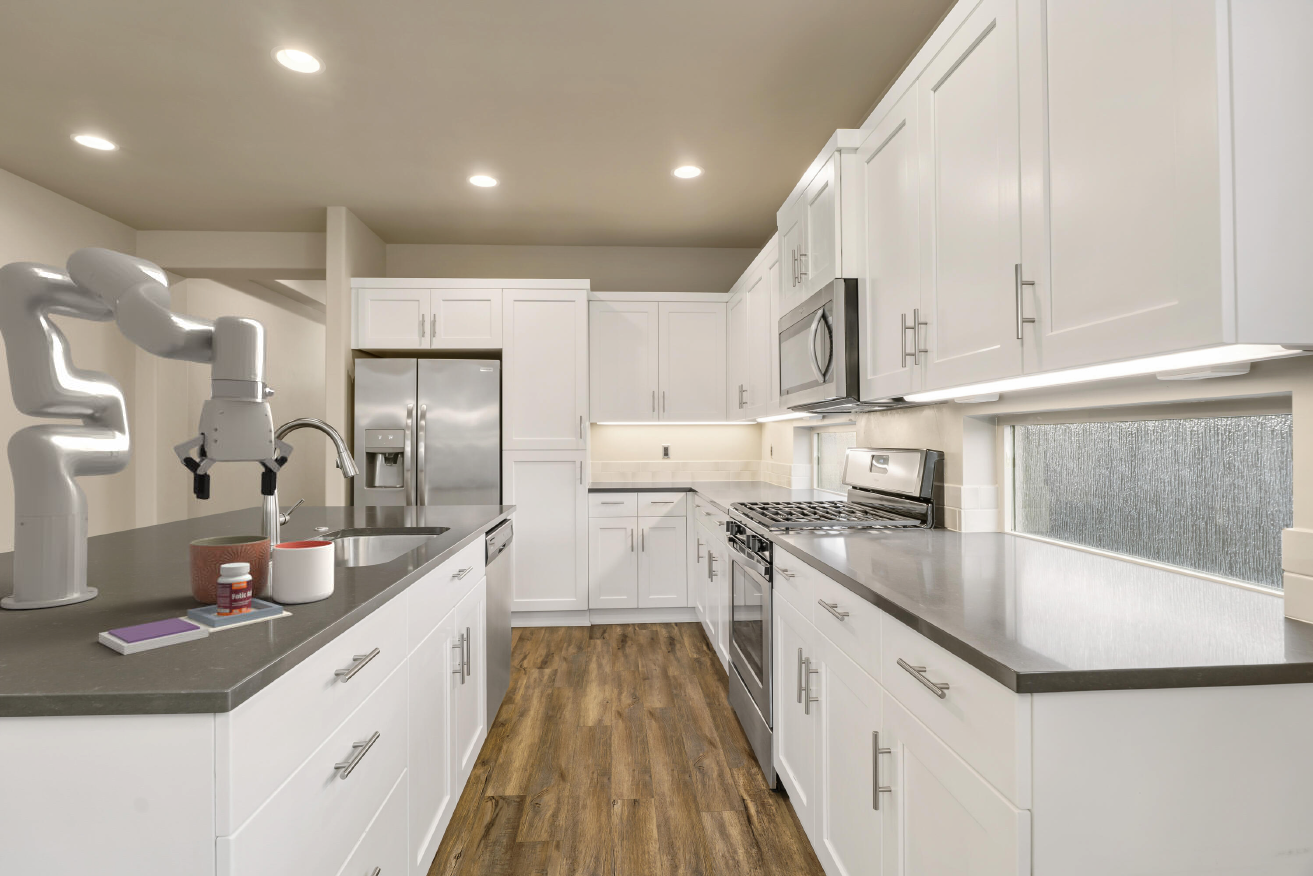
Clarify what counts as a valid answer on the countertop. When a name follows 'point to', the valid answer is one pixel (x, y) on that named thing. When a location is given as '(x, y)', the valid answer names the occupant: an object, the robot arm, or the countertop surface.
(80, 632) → the countertop surface
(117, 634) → the ink pad
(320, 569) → the cup
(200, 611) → the square tray
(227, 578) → the pill bottle
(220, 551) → the planter
